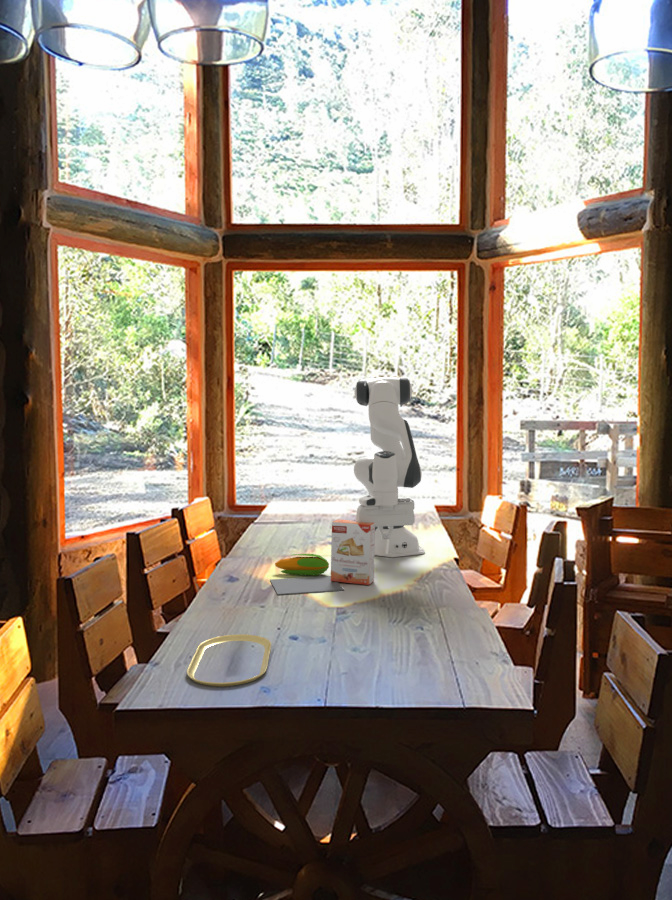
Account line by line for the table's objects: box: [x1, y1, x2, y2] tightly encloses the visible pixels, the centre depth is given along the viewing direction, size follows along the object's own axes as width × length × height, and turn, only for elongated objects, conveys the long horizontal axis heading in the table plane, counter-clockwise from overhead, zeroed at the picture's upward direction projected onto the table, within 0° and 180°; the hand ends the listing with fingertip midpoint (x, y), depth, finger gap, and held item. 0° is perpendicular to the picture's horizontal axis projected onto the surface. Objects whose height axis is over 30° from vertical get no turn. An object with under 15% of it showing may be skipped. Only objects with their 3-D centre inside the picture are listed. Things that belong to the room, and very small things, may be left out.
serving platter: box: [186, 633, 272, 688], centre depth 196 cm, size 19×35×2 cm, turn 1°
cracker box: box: [330, 519, 375, 586], centre depth 272 cm, size 14×6×21 cm, turn 71°
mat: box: [269, 575, 345, 596], centre depth 270 cm, size 22×20×1 cm
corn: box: [274, 553, 330, 577], centre depth 286 cm, size 7×8×20 cm
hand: (385, 539), depth 274 cm, fingers closed
